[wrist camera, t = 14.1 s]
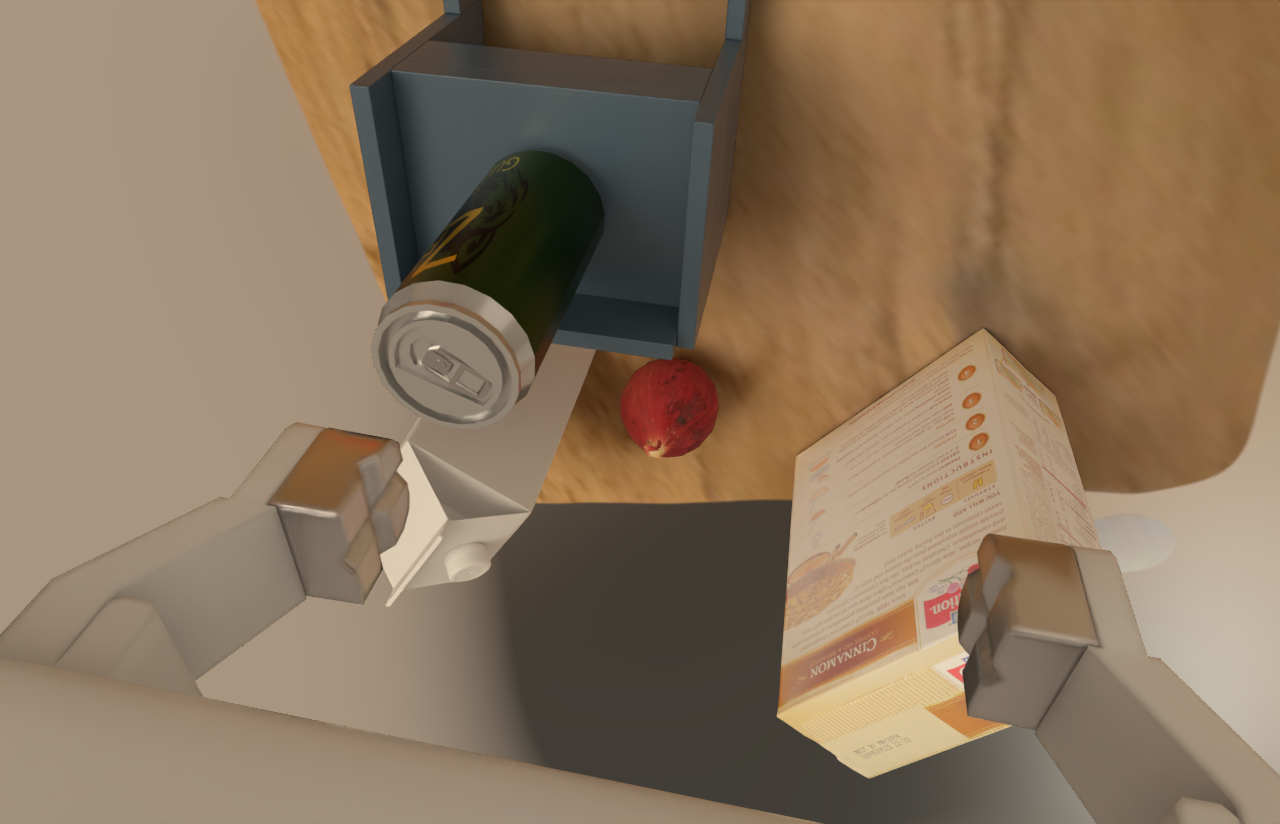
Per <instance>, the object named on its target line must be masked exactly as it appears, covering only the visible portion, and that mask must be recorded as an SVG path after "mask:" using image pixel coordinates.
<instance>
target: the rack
mask: <svg viewBox="0 0 1280 824" xmlns="http://www.w3.org/2000/svg"><path fill="white" fill-rule="evenodd" d="M443 1H444V10H445V14H443V15H442V16H441V17H439V18H438V19H437V20H435V21H434V22H433V23H431V24H430V25H429V26H427V27H426V28H425V29H423V30H422V31H421V32H420V33H418V34H417V35H416V36H414V37H413V38H412V39H410V40H409V41H408V42H406V43H405V44H404V45H402V46H401V47H400V48H398V49H397V50H396V51H394V52H393V53H392V54H390V55H389V56H388V57H386V58H385V59H384V60H382V61H381V62H380V63H378V64H377V65H376V66H374V67H373V68H372V69H370V70H369V71H368V72H366V73H365V74H364V75H362V76H361V77H360V78H358V79H357V80H356V81H354V82H353V83H352V84H350V91H351V97H352V103H353V108H354V114H355V119H356V125H357V130H358V136H359V141H360V147H361V153H362V158H363V164H364V169H365V175H366V180H367V186H368V191H369V197H370V203H371V208H372V214H373V219H374V225H375V230H376V236H377V241H378V247H379V253H380V258H381V264H382V269H383V275H384V280H385V286H386V291H387V297H388V300H389V299H390V298H391V296H392V295H393V294H394V293H395V291H396V290H397V289H398V287H399V286H400V285H401V284H402V282H403V281H404V280H405V278H406V277H407V276H408V275H409V273H410V272H411V271H412V269H413V268H414V267H415V266H416V264H417V263H418V262H419V261H420V259H421V258H422V257H423V255H424V254H425V253H426V252H427V250H428V249H429V248H430V246H431V245H432V244H433V243H434V241H435V240H436V239H437V238H438V236H439V235H440V234H441V232H442V231H443V230H444V229H445V227H446V226H447V225H448V223H449V222H450V221H451V220H452V218H453V217H454V216H455V214H456V213H457V212H458V211H459V209H460V208H461V207H462V206H463V204H464V203H465V202H466V200H467V199H468V198H469V197H470V195H471V194H472V193H473V191H474V190H475V189H476V188H477V186H478V185H479V184H480V182H481V181H482V180H483V179H484V177H485V176H486V175H487V174H488V172H489V171H490V170H491V169H492V167H493V166H494V165H495V164H496V163H497V162H498V161H499V160H501V159H503V158H505V157H506V156H508V155H510V154H512V153H514V152H521V151H527V150H543V151H549V152H555V153H558V154H560V155H562V156H564V157H566V158H568V159H571V160H573V161H574V162H575V163H576V164H577V165H579V166H580V167H581V168H582V169H583V170H584V171H585V172H586V173H587V174H588V175H589V177H590V178H591V180H592V182H593V183H594V185H595V186H596V188H597V190H598V192H599V194H600V197H601V201H602V205H603V208H604V212H605V219H604V232H603V234H602V237H601V239H600V241H599V243H598V246H597V248H596V250H595V252H594V254H593V256H592V258H591V261H590V263H589V265H588V267H587V269H586V271H585V273H584V275H583V277H582V280H581V282H580V284H579V286H578V288H577V290H576V292H575V294H574V296H573V298H572V301H571V303H570V305H569V307H568V309H567V311H566V313H565V315H564V317H563V320H562V322H561V324H560V326H559V328H558V330H557V332H556V334H555V336H554V339H553V341H552V344H559V345H566V346H573V347H580V348H588V349H595V350H602V351H609V352H616V353H623V354H630V355H637V356H644V357H651V358H658V359H665V360H672V359H673V355H674V352H675V348H676V347H679V348H686V349H694V347H695V343H696V339H697V335H698V331H699V327H700V323H701V319H702V315H703V311H704V308H705V304H706V300H707V296H708V292H709V288H710V284H711V280H712V276H713V272H714V268H715V264H716V260H717V256H718V252H719V248H720V244H721V240H722V236H723V232H724V228H725V224H726V220H727V216H728V208H729V199H730V189H731V180H732V171H733V162H734V153H735V143H736V134H737V125H738V116H739V106H740V97H741V88H742V79H743V69H744V60H745V51H746V42H747V32H748V22H749V14H750V4H751V0H728V10H727V20H726V31H725V41H724V43H723V46H722V49H721V51H720V54H719V56H718V59H717V61H716V64H715V66H714V69H712V68H703V67H693V66H683V65H672V64H662V63H652V62H642V61H632V60H621V59H611V58H601V57H591V56H581V55H570V54H560V53H550V52H540V51H530V50H519V49H509V48H499V47H489V46H485V38H484V26H483V13H482V0H443Z"/></svg>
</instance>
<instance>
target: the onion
mask: <svg viewBox="0 0 1280 824" xmlns="http://www.w3.org/2000/svg"><path fill="white" fill-rule="evenodd" d="M717 413H718V397H717V393H716V389H715V384H714V383H713V382H712V380H711V379H710V377H709V376H708V375H707V374H706V373H705V372H704V370H703V369H702V368H701V367H700V366H698V365H696V364H694V363H692V362H689V361H687V360H685V359H675V358H673V359H672V360H665V359H661V360H656V361H652V362H649V363H647V364H646V365H644V366H643V367H641V368H639V369H638V370H636V371H635V372H634V374H633V375H632V377H631V379H630V380H629V382H628V383H627V385H626V386H625V388H624V390H623V391H622V395H621V418H622V422H623V424H624V426H625V428H626V430H627V432H628V434H629V436H630V438H631V439H632V440H633V441H634V442H635V443H636V444H637V445H638V446H639V447H640V448H641V449H643V450H644V451H645V452H646V454H647V455H648V456H649V457H651V458H656V459H659V457H661V456H662V457H676V456H681V455H684V454H686V453H688V452H690V451H692V450H694V449H696V448H698V447H699V446H700V445H701V443H702V442H703V441H704V440H705V439H706V438H707V436H708V435H709V434H710V433H711V432H712V430H713V428H714V425H715V422H716V417H717Z"/></svg>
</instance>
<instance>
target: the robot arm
mask: <svg viewBox="0 0 1280 824" xmlns="http://www.w3.org/2000/svg"><path fill="white" fill-rule="evenodd" d="M402 461H403V458H402V454H401V450H400V445H399V443H398V442H396V441H394V440H392V439H388V438H382V437H377V436H372V435H366V434H361V433H355V432H350V431H345V430H339V429H334V428H324V427H319V426H313V425H308V424H302V423H294V424H293V425H290V426H288V427H287V428H286V429H285V430H284V432H282V434H281V435H280V436H279V437H278V439H277V440H276V441H275V442H274V444H273V445H272V446H271V448H270V449H269V450H268V451H267V453H266V454H265V455H264V456H263V458H262V459H261V460H260V461H259V463H258V464H257V465H256V466H255V468H254V469H253V470H252V471H251V473H250V474H249V475H248V476H247V478H246V479H245V480H244V481H243V483H242V484H241V485H240V486H239V488H238V489H237V490H236V491H235V493H234V494H233V495H232V496H231V498H223V497H219V498H217V499H215V500H213V501H211V502H209V503H207V504H205V505H203V506H201V507H199V508H197V509H195V510H193V511H190V512H188V513H186V514H184V515H182V516H180V517H178V518H176V519H174V520H172V521H170V522H168V523H166V524H164V525H162V526H160V527H158V528H155V529H153V530H151V531H149V532H147V533H145V534H143V535H141V536H139V537H137V538H135V539H133V540H131V541H129V542H127V543H125V544H123V545H120V546H119V547H116V548H114V549H112V550H110V551H108V552H106V553H104V554H102V555H100V556H98V557H96V558H94V559H92V560H90V561H88V562H85V563H84V564H81V565H79V566H78V567H75V568H73V569H71V570H69V571H67V572H65V573H63V574H61V575H59V576H57V577H55V578H53V579H51V580H50V582H49V583H48V584H47V585H46V586H45V587H44V588H43V589H42V590H41V591H40V592H39V593H38V594H37V596H36V597H35V598H34V599H33V600H32V601H31V602H30V603H29V604H28V605H27V606H26V607H25V608H24V610H23V611H22V612H21V613H20V614H19V615H18V616H17V617H16V618H15V619H14V620H13V621H12V622H11V624H10V625H9V626H8V627H7V628H6V629H5V630H4V631H3V632H2V633H1V634H0V824H822V823H817V822H812V821H807V820H802V819H798V818H793V817H788V816H782V815H778V814H772V813H768V812H763V811H758V810H753V809H748V808H743V807H738V806H734V805H728V804H723V803H718V802H713V801H709V800H704V799H699V798H694V797H689V796H684V795H679V794H674V793H669V792H665V791H660V790H655V789H649V788H645V787H639V786H635V785H630V784H625V783H620V782H616V781H611V780H606V779H600V778H596V777H591V776H586V775H581V774H576V773H571V772H566V771H562V770H557V769H552V768H547V767H542V766H537V765H532V764H527V763H522V762H518V761H513V760H508V759H503V758H498V757H493V756H488V755H483V754H478V753H474V752H468V751H463V750H459V749H454V748H449V747H444V746H439V745H434V744H429V743H424V742H420V741H414V740H410V739H405V738H400V737H395V736H390V735H385V734H380V733H376V732H371V731H366V730H361V729H356V728H350V727H346V726H341V725H336V724H331V723H326V722H322V721H317V720H312V719H307V718H302V717H297V716H292V715H287V714H282V713H277V712H273V711H268V710H263V709H258V708H253V707H248V706H243V705H238V704H233V703H228V702H224V701H219V700H214V699H208V698H204V697H203V695H202V693H201V692H200V690H199V688H198V686H197V684H196V682H195V680H197V679H198V678H199V677H201V676H202V675H204V674H205V673H206V672H208V671H209V670H210V669H212V668H213V667H214V666H216V665H217V664H218V663H220V662H221V661H223V660H224V659H225V658H227V657H228V656H229V655H231V654H232V653H233V652H235V651H236V650H238V649H239V648H240V647H242V646H243V645H244V644H246V643H247V642H249V641H250V640H251V639H253V638H254V637H255V636H257V635H258V634H260V633H261V632H262V631H264V630H265V629H266V628H268V627H269V626H270V625H272V624H273V623H274V622H276V621H277V620H279V619H280V618H281V617H283V616H284V615H285V614H287V613H288V612H290V611H291V610H292V609H293V608H295V607H296V606H298V605H299V604H300V603H302V602H303V601H304V600H306V596H312V597H319V598H325V599H331V600H337V601H344V602H350V603H356V604H364V602H365V600H366V599H367V597H368V595H369V593H370V591H371V590H372V588H373V586H374V584H375V582H376V581H377V578H378V577H379V575H380V573H381V572H382V570H383V566H382V561H381V557H380V554H382V553H383V552H385V551H387V550H388V549H390V548H392V547H393V546H395V545H396V544H397V542H398V540H399V538H400V536H401V534H402V533H403V531H404V528H405V524H406V521H407V517H408V513H409V501H410V494H409V489H408V483H407V482H406V481H405V480H404V478H403V477H402V476H401V475H400V474H399V473H398V472H397V469H398V468H399V466H400V464H401V463H402ZM977 556H978V564H979V569H977V570H975V571H974V572H972V573H970V574H968V575H967V577H966V580H965V583H964V585H963V588H962V591H961V595H960V601H959V607H958V626H957V627H958V637H959V644H960V645H961V646H962V647H963V648H964V650H965V651H966V652H967V653H968V654H969V658H968V660H967V663H966V665H965V667H964V669H963V671H962V674H963V682H964V690H965V699H966V707H967V715H968V716H969V717H974V718H979V719H983V720H988V721H993V722H998V723H1002V724H1007V725H1012V726H1017V727H1021V728H1026V729H1031V730H1036V732H1035V735H1036V736H1037V738H1038V739H1039V741H1040V742H1041V744H1042V745H1043V746H1044V748H1045V749H1046V751H1047V752H1048V754H1049V755H1050V757H1051V758H1052V759H1053V761H1054V762H1055V764H1056V765H1057V767H1058V768H1059V770H1060V771H1061V773H1062V774H1063V775H1064V777H1065V778H1066V780H1067V781H1068V783H1069V784H1070V786H1071V787H1072V789H1073V790H1074V791H1075V793H1076V794H1077V796H1078V797H1079V799H1080V800H1081V802H1082V803H1083V805H1084V806H1085V807H1086V809H1087V810H1088V812H1089V813H1090V815H1091V816H1092V818H1093V819H1094V820H1095V822H1096V823H1097V824H1280V775H1279V774H1278V773H1277V772H1276V771H1275V770H1274V769H1273V768H1272V767H1271V766H1270V765H1268V764H1267V762H1265V761H1264V760H1263V759H1262V758H1261V757H1260V756H1259V755H1258V754H1257V753H1256V752H1255V751H1254V750H1253V749H1252V748H1251V747H1250V746H1249V745H1248V744H1247V743H1246V742H1245V741H1244V740H1243V739H1242V738H1241V737H1240V736H1239V735H1238V734H1237V733H1236V732H1235V731H1234V730H1232V728H1231V727H1230V726H1229V725H1227V723H1225V722H1224V721H1223V720H1222V719H1221V718H1220V717H1219V716H1218V715H1217V714H1216V713H1215V712H1214V711H1213V710H1212V709H1211V708H1210V707H1209V706H1208V705H1207V704H1206V703H1205V702H1204V701H1203V700H1202V699H1201V698H1200V697H1199V696H1198V695H1197V694H1196V693H1195V692H1194V691H1193V690H1192V689H1191V688H1190V687H1189V686H1187V685H1186V683H1184V682H1183V681H1182V680H1181V679H1180V678H1179V677H1178V676H1177V675H1176V674H1175V673H1174V672H1173V671H1172V670H1171V669H1170V668H1169V667H1168V666H1167V665H1166V664H1165V663H1164V662H1163V661H1162V660H1161V659H1160V658H1155V657H1149V656H1147V653H1146V650H1145V647H1144V644H1143V641H1142V638H1141V634H1140V631H1139V628H1138V625H1137V622H1136V619H1135V616H1134V613H1133V609H1132V606H1131V603H1130V600H1129V597H1128V594H1127V590H1126V587H1125V584H1124V581H1123V578H1122V575H1121V572H1120V568H1119V565H1118V562H1117V559H1116V557H1115V556H1114V555H1113V554H1112V553H1111V552H1110V551H1106V550H1100V549H1093V548H1086V547H1079V546H1072V545H1068V546H1066V545H1064V544H1058V543H1051V542H1045V541H1038V540H1031V539H1025V538H1018V537H1011V536H1004V535H998V534H991V533H988V534H987V535H986V537H985V538H984V539H983V540H982V542H981V545H980V547H979V549H978V551H977Z"/></svg>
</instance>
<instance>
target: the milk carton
mask: <svg viewBox="0 0 1280 824" xmlns="http://www.w3.org/2000/svg"><path fill="white" fill-rule="evenodd" d="M595 353H596V350H595V349H588V348H580V347H573V346H566V345H559V344H552V343H551V345H550V347H549V349H548V351H547V353H546V355H545V358H544V360H543V362H542V364H541V366H540V368H539V370H538V372H537V374H536V377H535V379H534V381H533V383H532V385H531V387H530V389H529V391H528V393H527V395H526V396H525V397H524V398H523V399H522V400H520V401H519V402H518V403H517V404H516V405H515V406H514V407H513V408H512V410H511V411H510V412H509V413H508V414H507V415H506V416H505V417H503V418H502V419H501V420H500V421H499V422H497V423H494V424H492V425H489V426H486V427H484V428H480V429H463V430H460V429H454V428H449V427H444V426H439V425H436V424H434V423H432V422H430V421H427V420H425V419H423V418H421V417H418V419H417V420H416V422H415V424H414V425H413V427H412V428H411V430H410V432H409V433H408V435H407V436H406V438H405V440H404V441H403V443H402V445H401V446H400V450H401V454H402V458H403V461H402V463H401V464H400V466H399V468H398V469H397V472H398V473H399V474H400V475H401V476H402V477H403V478H404V480H405V481H406V482H407V483H408V489H409V494H410V501H409V513H408V517H407V521H406V524H405V528H404V531H403V533H402V534H401V536H400V538H399V540H398V542H397V544H396V545H395V546H393V547H392V548H390V549H388V550H387V551H385V552H383V553H382V554H380V557H381V561H382V566H383V568H384V570H385V572H386V574H387V577H388V579H389V581H390V583H391V585H392V587H393V591H392V593H391V595H390V597H389V599H388V601H387V602H386V605H385V606H387V607H389V606H390V605H391V604H392V603H393V601H394V600H395V599H396V598H397V596H398V595H399V594H400V593H401V591H402V590H406V589H412V588H418V587H424V586H431V585H437V584H443V583H449V582H463V581H468V580H471V579H475V578H477V577H479V576H481V575H482V574H484V573H485V572H486V571H488V570H489V568H490V566H491V561H490V559H491V558H492V557H493V556H494V555H495V554H496V552H497V551H498V550H499V549H500V548H501V547H502V546H503V545H504V543H505V542H506V541H507V540H508V539H509V537H511V535H512V534H513V533H514V532H515V531H516V530H517V529H518V528H519V526H520V525H521V524H522V523H523V522H524V521H525V519H526V518H527V517H528V516H529V515H530V513H531V511H532V510H533V507H534V505H535V503H536V500H537V498H538V495H539V493H540V490H541V488H542V485H543V483H544V480H545V478H546V475H547V473H548V470H549V468H550V465H551V463H552V460H553V458H554V455H555V453H556V450H557V448H558V445H559V443H560V440H561V438H562V435H563V433H564V430H565V428H566V425H567V423H568V420H569V418H570V415H571V413H572V410H573V408H574V405H575V403H576V400H577V398H578V395H579V393H580V390H581V388H582V385H583V383H584V380H585V378H586V375H587V373H588V370H589V368H590V365H591V363H592V360H593V358H594V355H595Z"/></svg>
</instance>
